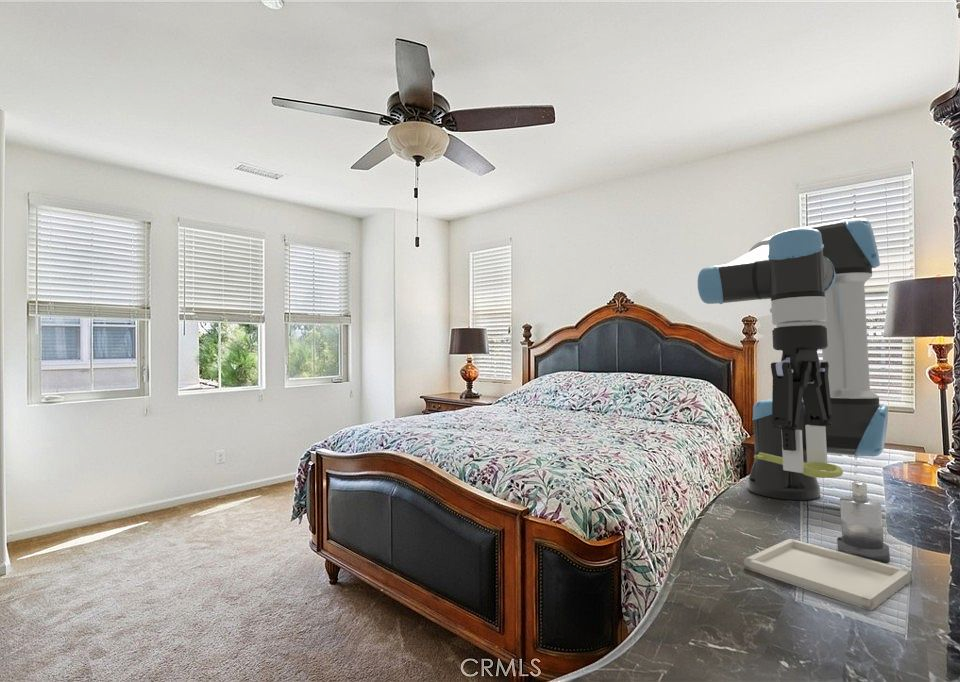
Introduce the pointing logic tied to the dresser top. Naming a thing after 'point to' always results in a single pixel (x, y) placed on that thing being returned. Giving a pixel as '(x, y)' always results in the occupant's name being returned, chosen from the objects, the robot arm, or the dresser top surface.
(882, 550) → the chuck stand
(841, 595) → the tray
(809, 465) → the key
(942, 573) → the dresser top surface
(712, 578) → the dresser top surface
